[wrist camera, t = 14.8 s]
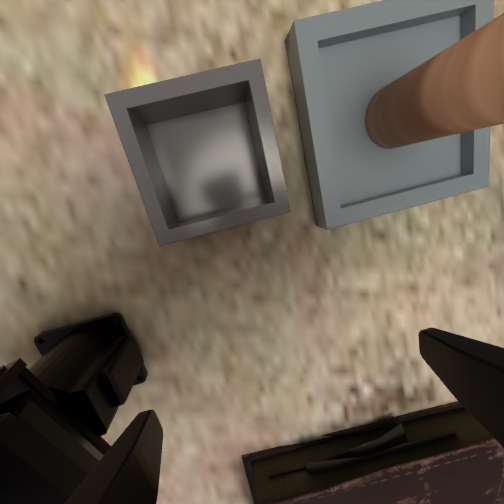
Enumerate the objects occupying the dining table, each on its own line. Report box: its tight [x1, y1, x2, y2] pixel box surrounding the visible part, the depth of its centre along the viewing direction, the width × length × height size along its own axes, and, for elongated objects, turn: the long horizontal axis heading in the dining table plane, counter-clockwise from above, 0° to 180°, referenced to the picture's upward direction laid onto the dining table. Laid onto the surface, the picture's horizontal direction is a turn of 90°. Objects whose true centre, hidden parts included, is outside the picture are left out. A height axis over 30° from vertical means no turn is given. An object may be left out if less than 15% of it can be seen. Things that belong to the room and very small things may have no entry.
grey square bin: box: [105, 59, 291, 246], centre depth 15 cm, size 8×8×4 cm
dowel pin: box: [365, 13, 504, 149], centre depth 12 cm, size 4×4×10 cm
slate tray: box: [285, 0, 494, 230], centre depth 17 cm, size 12×12×2 cm
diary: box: [242, 402, 504, 504], centre depth 26 cm, size 19×25×5 cm
